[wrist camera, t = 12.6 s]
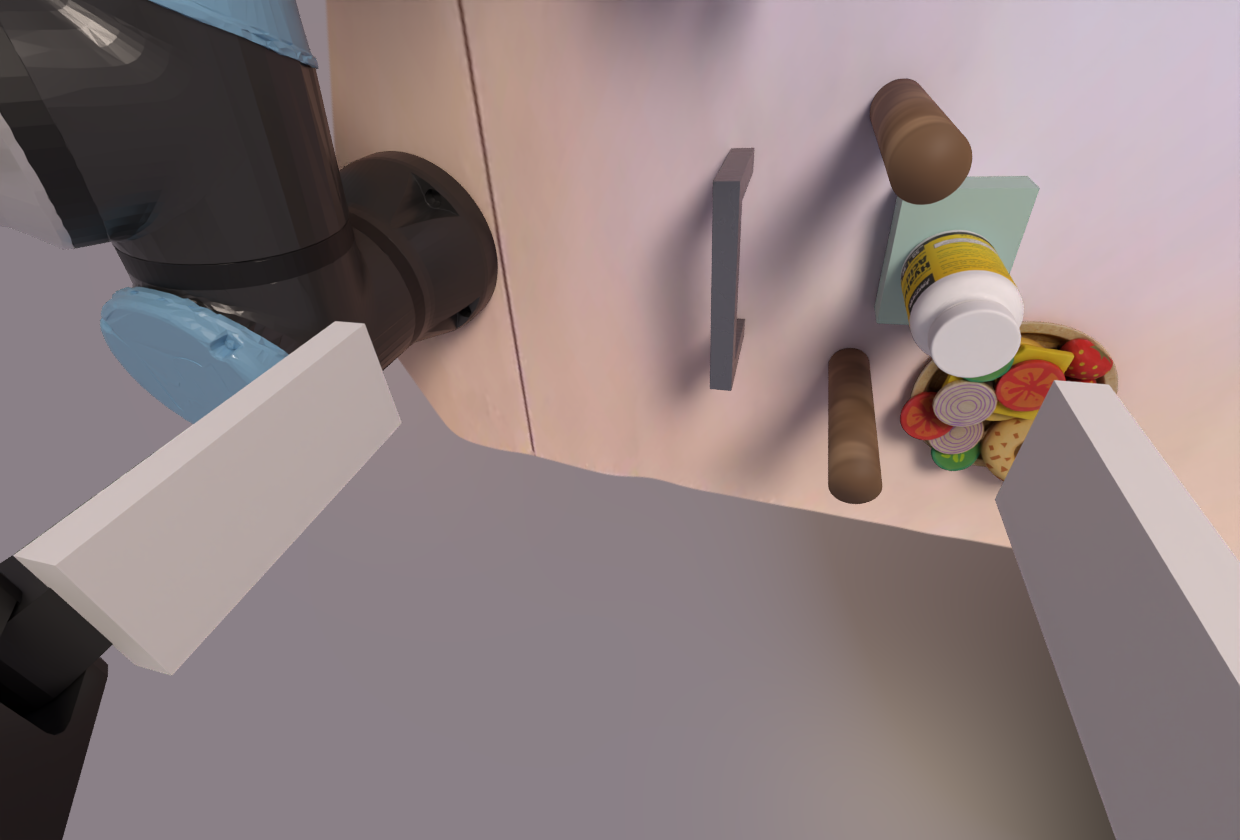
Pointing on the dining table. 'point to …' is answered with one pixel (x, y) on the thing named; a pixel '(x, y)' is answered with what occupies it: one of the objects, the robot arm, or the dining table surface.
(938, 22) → the dining table surface
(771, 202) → the dining table surface
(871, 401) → the post far
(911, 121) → the post near
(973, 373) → the supplement bottle
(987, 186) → the stand
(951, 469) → the toy food set
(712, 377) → the rail hurdle
